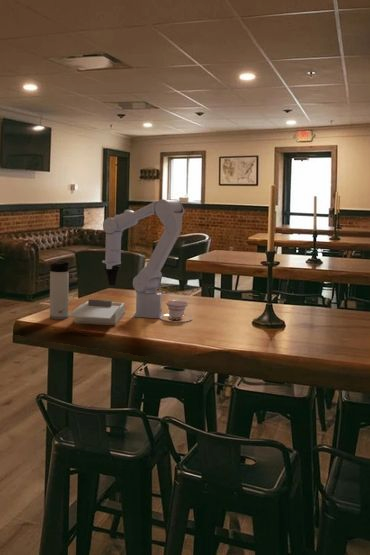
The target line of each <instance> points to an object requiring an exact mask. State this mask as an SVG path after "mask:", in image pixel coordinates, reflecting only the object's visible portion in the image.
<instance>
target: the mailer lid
mask: <svg viewBox="0 0 370 555" xmlns="http://www.w3.org/2000/svg"><path fill="white" fill-rule="evenodd" d="M87 301H88V304H85V303H81V304H80V305H79V306H77V307H76V308H75V309H74V310H72V311H71V312H70V313H68V316H67V317H68V318H74V319H75V318H91V319H108V320H110V319H111V318H112V316H113V315H114V314H115V313H116V312H117V311H118V309H119V308H120V306H112V302H113V301H112V300H106V299H105V300H104V299H89V298H88V300H87Z"/></svg>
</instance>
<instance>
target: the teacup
mask: <svg viewBox="0 0 370 555" xmlns="http://www.w3.org/2000/svg"><path fill="white" fill-rule="evenodd" d="M188 304H189V303H188V302H187V301H184V300H176V299H175V300H168V301H166V306H167V307H168V308H167V309H168V310H169V313H166V314H165V313H164V314H161V315H160V317H159V318H158V319H160V320H161V321H163V322H168V323H177V322H179V323H188V322H187V321H167V320H164V319H163V318H164V317H165V316H170V317H171V318H170V319H171V320H173V319H176V320H178V319H180V320H182V317H183V316H187V317H189V318H190V320H191V321H192V320H193V317H191V316H190V315H187V314H185V310H186V307H187V306H188ZM190 320H188V321H189V322H191V321H190Z"/></svg>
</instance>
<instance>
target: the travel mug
mask: <svg viewBox="0 0 370 555" xmlns="http://www.w3.org/2000/svg"><path fill="white" fill-rule="evenodd" d="M69 265H70V261H64V262H63V261H62V262H54V263H53V262H52V263H50V268H49V269H50V271H49V272H50V273H49V318H50V319H51V320H56V321H57V320H59V321H60V320H66V319H68V318H69V317H67V316H68V315H69V281H70V280H69V278H70V277H69V275H70V274H69V272H70V271H69Z"/></svg>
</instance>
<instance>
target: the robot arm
mask: <svg viewBox="0 0 370 555" xmlns="http://www.w3.org/2000/svg"><path fill="white" fill-rule="evenodd" d="M184 214H185V209H184V206H183V204H182V202H181V201H180V200H178V199H164V198H163V199H159V200H155V201H152V202H151V203H149V204H147V205H145V206H143V207H141V208H139V209H137V210H135V211H134V210H133V209H125V210H124V211H123V212H122V213H120V214H115V215H114V217H107V218H105V219H104V221H103V222H102V228H103V229H102V230H103V231H104V232H105V257H104V258H105V260H102V261H101V262H102V264H105V266H104V270H105V273H106V276H107V281H108V285H109V286H113V287H114V286H116V285H117V281H118V280H117V279H118V276H119V272H120V271H121V268H122V266H121V264H122V261H121V257H122V255H121V254H122V251H121V250H122V237H123V232H124V231H125V230H127V229H129V228H132V227H134V226H136V225H137V224H138V222H139V220H141V219H144V218H147V217H150V216H153V215H156V216H157V217H158V219H159V220H160V222H161V223H162V225H163V227H164V230H163V232H162V234H161V236H160V238H159V239H158V241H157V243H156V246H155V248H154V250H153V252H152V254H151V256H150V258H149V260H148V262H147V263H146V265H145V266H144V267H143V268H142V269H141V270H140V271H139V273H138V274H137V275H135V277H133V279H132V287H133V288H134V290H135V294H136V296H135V298H136V300H135V313H134V314H133V316H132V317H133V318H146V319H147V318H150V319H160V318H159V317H160V316H161V315H162V311H163V310H162V300H163V295H162V292H158V288H159V286H160V284H161V278H162V276H163V274H162V272H161V270H162V269H163V267H164V266H165V263H166V261H167V259H168V257H169V255H170V254H171V251H172V250H173V247H174V245H175V244H176V242H177V239H178V238H179V236H180V234H181V232H182V230H183V229H182V228H183V215H184Z"/></svg>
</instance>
